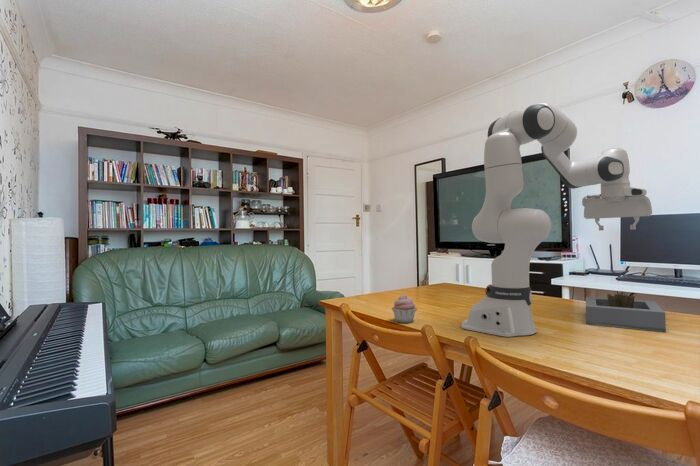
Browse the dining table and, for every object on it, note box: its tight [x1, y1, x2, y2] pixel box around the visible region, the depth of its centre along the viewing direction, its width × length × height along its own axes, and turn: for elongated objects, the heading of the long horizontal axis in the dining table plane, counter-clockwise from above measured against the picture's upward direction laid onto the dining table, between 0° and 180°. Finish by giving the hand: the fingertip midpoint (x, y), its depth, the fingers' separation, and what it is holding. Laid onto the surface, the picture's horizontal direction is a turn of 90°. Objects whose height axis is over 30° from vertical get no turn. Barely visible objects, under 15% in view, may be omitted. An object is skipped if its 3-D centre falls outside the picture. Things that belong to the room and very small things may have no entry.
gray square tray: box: [585, 296, 667, 333], centre depth 119 cm, size 20×20×6 cm
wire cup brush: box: [606, 293, 635, 308], centre depth 119 cm, size 8×7×8 cm
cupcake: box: [391, 293, 418, 324], centre depth 127 cm, size 9×9×10 cm
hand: (616, 229), depth 130 cm, fingers open, 8 cm apart
